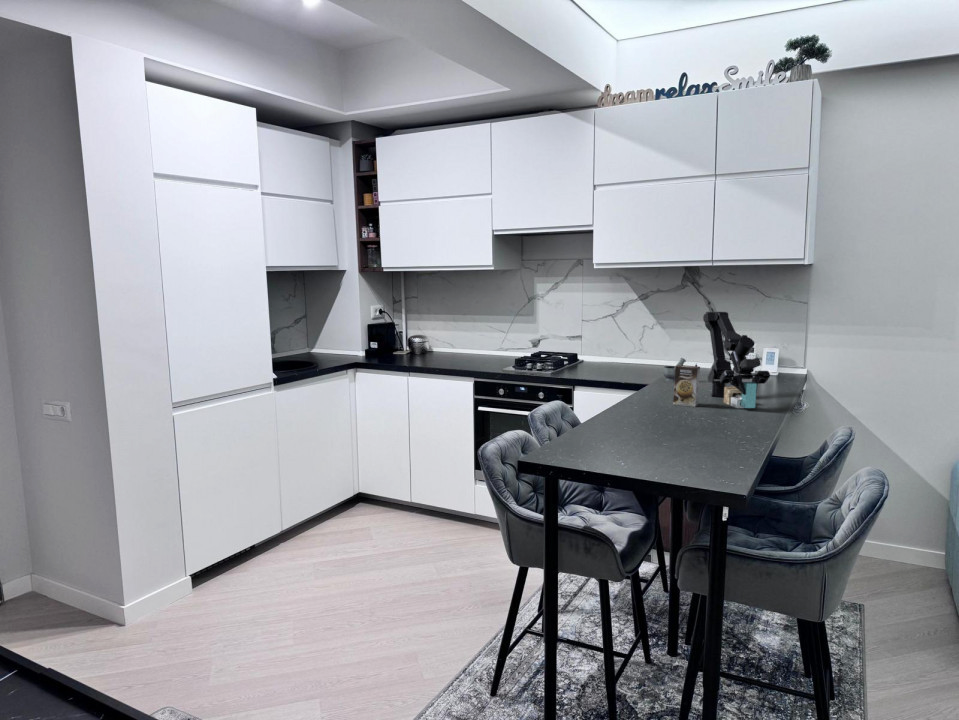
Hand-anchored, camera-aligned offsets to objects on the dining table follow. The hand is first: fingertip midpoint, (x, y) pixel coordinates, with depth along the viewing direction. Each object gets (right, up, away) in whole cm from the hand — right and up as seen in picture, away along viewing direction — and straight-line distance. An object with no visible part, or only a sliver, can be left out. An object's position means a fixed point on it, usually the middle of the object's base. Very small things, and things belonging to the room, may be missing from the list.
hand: (750, 394), depth 265 cm
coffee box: (-22, -5, +12) cm, 26 cm away
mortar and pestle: (-10, +3, +70) cm, 71 cm away
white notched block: (0, -5, +8) cm, 10 cm away
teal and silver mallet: (0, -4, +7) cm, 8 cm away
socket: (-1, -5, +15) cm, 15 cm away
